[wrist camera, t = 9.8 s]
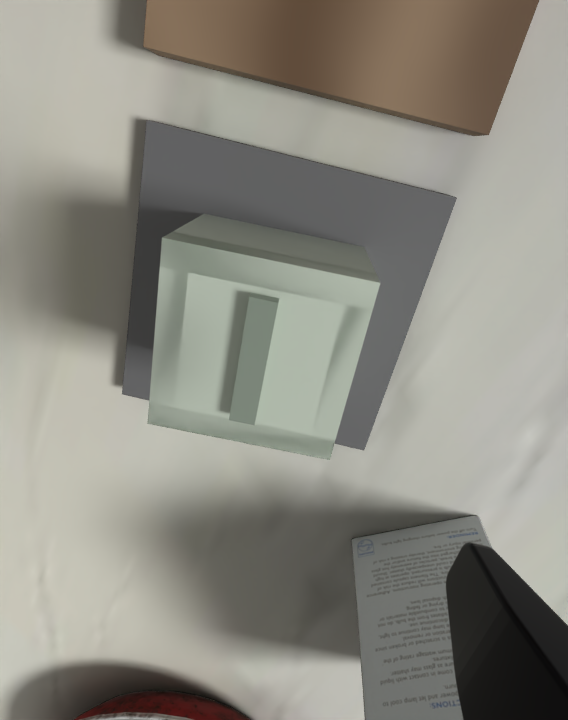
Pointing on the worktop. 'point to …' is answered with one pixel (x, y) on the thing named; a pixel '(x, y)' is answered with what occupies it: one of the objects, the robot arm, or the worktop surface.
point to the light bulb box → (409, 619)
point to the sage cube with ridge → (258, 333)
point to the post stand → (358, 50)
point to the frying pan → (161, 708)
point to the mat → (295, 214)
